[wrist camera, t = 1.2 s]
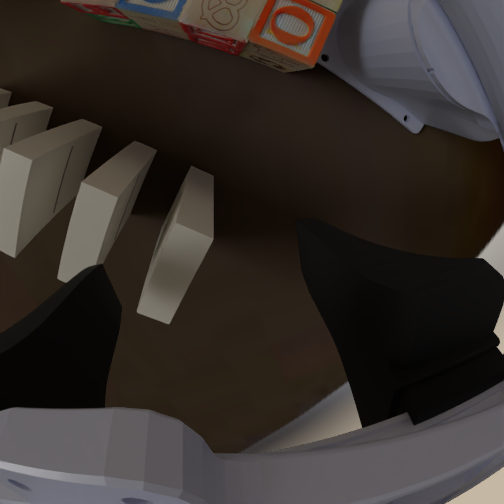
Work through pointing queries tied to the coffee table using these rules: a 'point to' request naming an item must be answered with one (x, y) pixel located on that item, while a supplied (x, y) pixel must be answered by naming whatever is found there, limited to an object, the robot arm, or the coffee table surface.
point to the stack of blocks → (231, 25)
